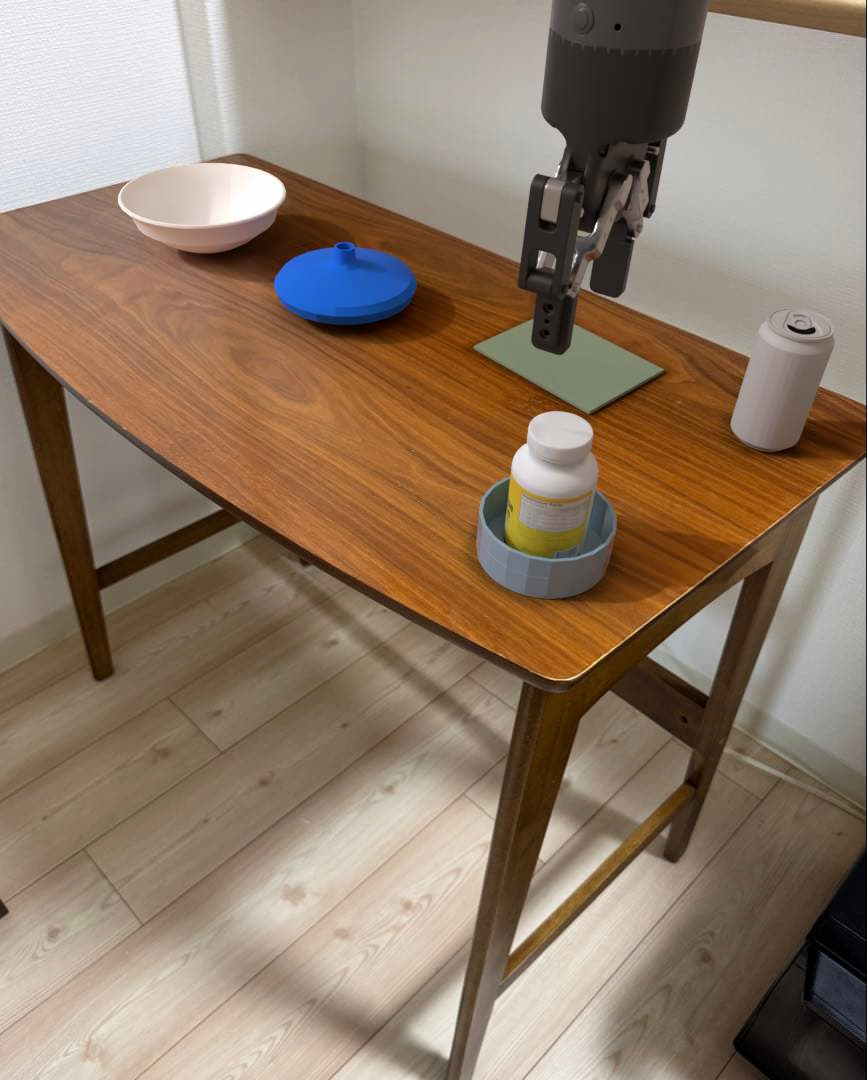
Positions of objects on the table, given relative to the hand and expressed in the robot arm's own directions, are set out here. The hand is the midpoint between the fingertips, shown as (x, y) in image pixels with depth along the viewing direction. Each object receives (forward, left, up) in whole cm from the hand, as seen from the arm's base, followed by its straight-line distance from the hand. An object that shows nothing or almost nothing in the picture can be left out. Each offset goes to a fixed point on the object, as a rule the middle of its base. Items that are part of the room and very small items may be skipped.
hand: (579, 319), depth 55 cm
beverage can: (-12, -28, -22) cm, 38 cm away
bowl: (+58, -37, -22) cm, 72 cm away
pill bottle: (+1, -3, -22) cm, 22 cm away
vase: (+35, -31, -22) cm, 52 cm away
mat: (+9, -32, -22) cm, 40 cm away
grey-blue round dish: (+1, -3, -22) cm, 23 cm away
